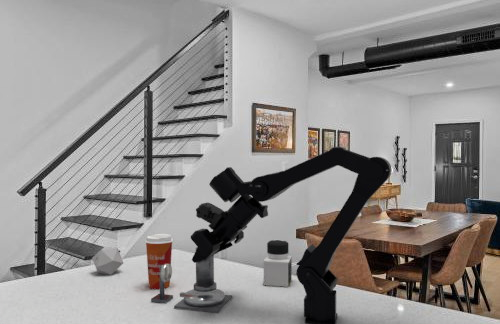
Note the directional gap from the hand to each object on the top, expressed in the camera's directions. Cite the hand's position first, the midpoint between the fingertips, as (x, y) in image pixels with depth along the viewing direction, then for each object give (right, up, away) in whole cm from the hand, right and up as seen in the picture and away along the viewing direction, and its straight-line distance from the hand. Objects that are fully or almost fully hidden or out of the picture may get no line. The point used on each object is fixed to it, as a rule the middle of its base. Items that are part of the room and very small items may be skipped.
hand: (198, 259), depth 105 cm
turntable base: (+2, -11, 0) cm, 11 cm away
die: (-31, -11, +27) cm, 42 cm away
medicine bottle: (+21, -11, +16) cm, 28 cm away
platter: (+1, -10, 0) cm, 10 cm away
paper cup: (-12, -11, +13) cm, 21 cm away
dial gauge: (-9, -11, +2) cm, 14 cm away
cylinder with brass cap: (+2, -7, -1) cm, 7 cm away
